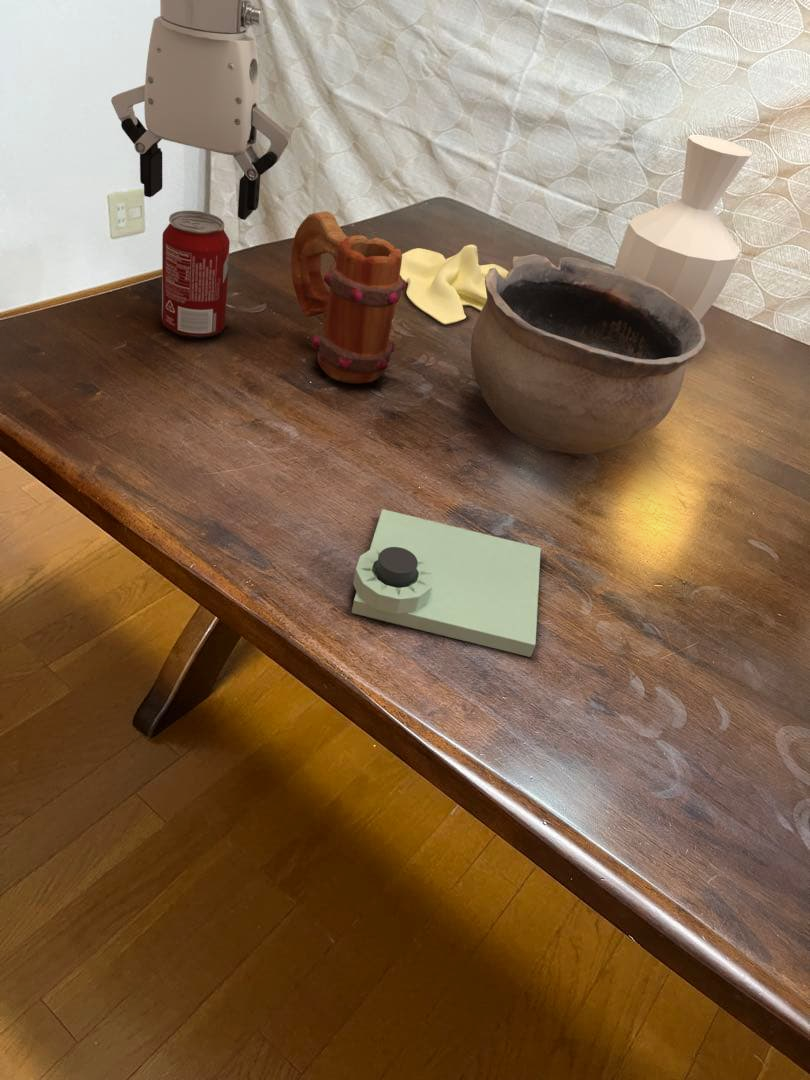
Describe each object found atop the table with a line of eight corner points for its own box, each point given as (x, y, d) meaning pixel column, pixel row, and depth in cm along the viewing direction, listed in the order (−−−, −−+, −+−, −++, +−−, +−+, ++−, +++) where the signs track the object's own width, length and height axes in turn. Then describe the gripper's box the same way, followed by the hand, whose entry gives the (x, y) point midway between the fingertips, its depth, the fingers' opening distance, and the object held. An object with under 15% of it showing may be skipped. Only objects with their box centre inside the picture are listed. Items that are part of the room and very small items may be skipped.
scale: (344, 615, 65) (349, 586, 63) (374, 519, 75) (380, 492, 73) (530, 661, 65) (541, 634, 63) (536, 559, 75) (546, 533, 73)
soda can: (218, 347, 93) (224, 238, 86) (155, 336, 92) (155, 225, 85) (229, 320, 98) (235, 215, 91) (169, 309, 98) (170, 203, 90)
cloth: (384, 249, 124) (392, 206, 120) (508, 268, 127) (519, 226, 124) (397, 318, 107) (406, 271, 103) (539, 337, 110) (553, 292, 107)
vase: (660, 316, 124) (733, 132, 108) (716, 366, 114) (805, 171, 98) (575, 313, 119) (638, 120, 103) (625, 365, 109) (704, 160, 93)
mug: (406, 383, 95) (433, 250, 85) (353, 402, 89) (376, 262, 80) (316, 327, 101) (332, 197, 92) (262, 342, 96) (274, 206, 87)
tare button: (371, 582, 65) (375, 567, 64) (379, 558, 67) (382, 542, 66) (410, 592, 65) (414, 577, 64) (416, 567, 67) (420, 552, 66)
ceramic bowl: (538, 362, 105) (576, 241, 95) (689, 451, 94) (748, 326, 85) (411, 406, 91) (440, 270, 82) (572, 517, 81) (627, 376, 71)
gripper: (309, 27, 79) (292, 212, 90) (127, -16, 80) (131, 174, 90) (287, 40, 73) (272, 236, 84) (91, -7, 74) (100, 195, 85)
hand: (199, 204), depth 87 cm, fingers open, 9 cm apart
